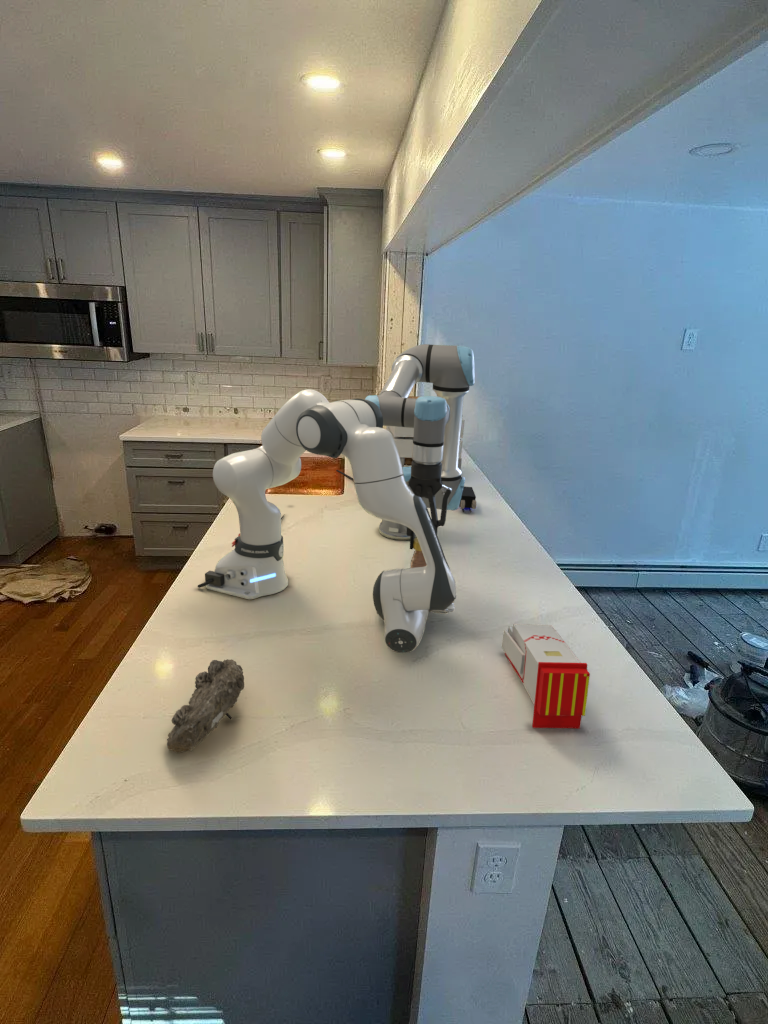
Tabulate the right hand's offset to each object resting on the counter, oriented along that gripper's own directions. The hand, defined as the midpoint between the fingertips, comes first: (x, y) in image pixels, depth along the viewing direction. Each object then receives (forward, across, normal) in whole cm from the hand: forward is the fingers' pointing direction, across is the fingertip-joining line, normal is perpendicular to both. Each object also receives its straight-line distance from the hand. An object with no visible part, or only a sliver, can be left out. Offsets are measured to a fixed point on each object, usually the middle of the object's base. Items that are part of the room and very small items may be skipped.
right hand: (420, 548), depth 147 cm
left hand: (+10, 0, -1) cm, 10 cm away
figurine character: (+17, -7, -84) cm, 85 cm away
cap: (-2, 0, 0) cm, 2 cm away
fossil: (+17, +31, +54) cm, 65 cm away
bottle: (+17, 0, 0) cm, 17 cm away
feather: (+17, +58, -50) cm, 78 cm away
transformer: (+17, +19, -129) cm, 131 cm away
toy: (+17, -30, +28) cm, 44 cm away
